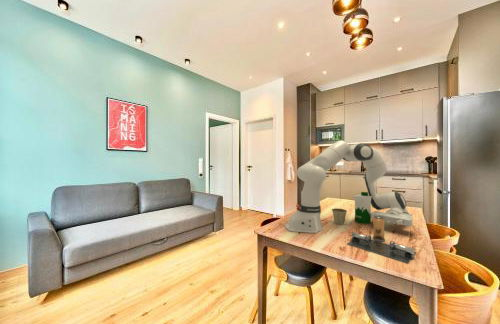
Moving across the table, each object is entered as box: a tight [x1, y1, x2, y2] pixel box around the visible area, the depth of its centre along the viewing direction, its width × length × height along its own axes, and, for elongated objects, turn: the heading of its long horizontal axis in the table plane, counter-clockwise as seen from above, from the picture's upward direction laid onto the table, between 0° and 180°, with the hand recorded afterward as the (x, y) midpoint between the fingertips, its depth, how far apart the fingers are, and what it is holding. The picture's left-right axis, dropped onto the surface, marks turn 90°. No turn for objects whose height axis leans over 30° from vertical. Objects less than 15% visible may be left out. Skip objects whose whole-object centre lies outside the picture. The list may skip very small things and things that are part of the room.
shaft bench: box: [346, 231, 417, 264], centre depth 93 cm, size 25×14×5 cm, turn 40°
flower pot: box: [331, 208, 348, 225], centre depth 131 cm, size 9×9×9 cm
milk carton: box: [353, 191, 372, 225], centre depth 131 cm, size 9×9×20 cm
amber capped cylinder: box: [372, 216, 386, 243], centre depth 103 cm, size 5×5×12 cm
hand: (386, 220), depth 110 cm, fingers open, 8 cm apart
